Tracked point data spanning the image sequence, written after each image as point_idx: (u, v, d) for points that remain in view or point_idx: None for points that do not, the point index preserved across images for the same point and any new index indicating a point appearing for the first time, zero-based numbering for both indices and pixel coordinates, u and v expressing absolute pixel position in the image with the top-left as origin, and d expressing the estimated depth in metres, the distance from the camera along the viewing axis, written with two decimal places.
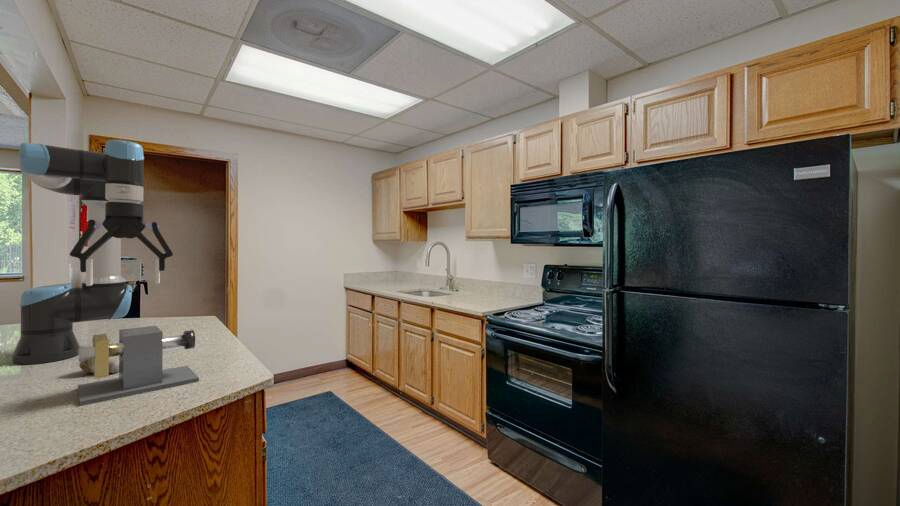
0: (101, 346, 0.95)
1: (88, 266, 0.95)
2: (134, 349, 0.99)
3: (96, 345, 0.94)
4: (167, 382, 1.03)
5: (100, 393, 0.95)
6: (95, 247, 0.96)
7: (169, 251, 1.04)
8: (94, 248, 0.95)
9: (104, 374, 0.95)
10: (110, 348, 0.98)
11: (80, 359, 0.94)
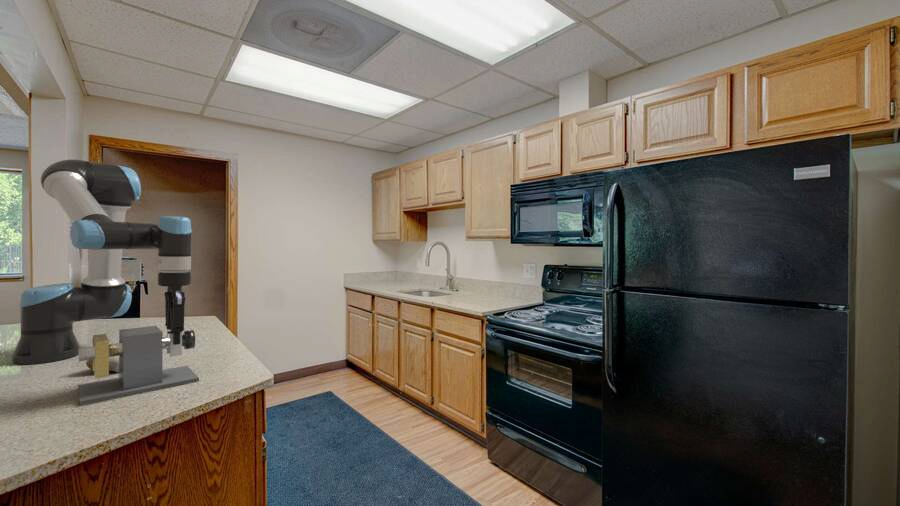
0: (101, 346, 0.95)
1: (167, 336, 1.09)
2: (134, 349, 0.99)
3: (96, 345, 0.94)
4: (167, 382, 1.03)
5: (100, 393, 0.95)
6: (167, 316, 1.09)
7: (173, 327, 1.05)
8: (167, 318, 1.09)
9: (104, 374, 0.95)
10: (110, 348, 0.98)
11: (80, 359, 0.94)
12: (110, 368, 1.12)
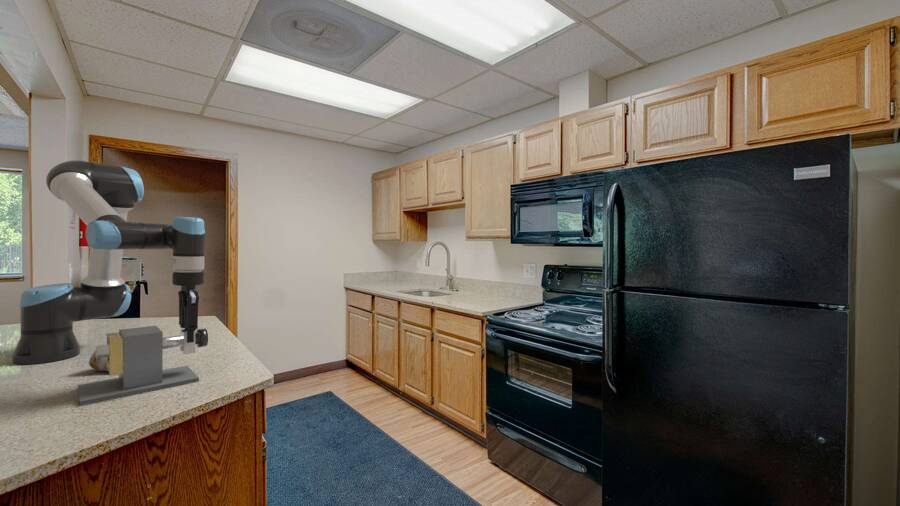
0: (116, 344, 0.97)
1: None
2: (134, 349, 0.99)
3: (111, 343, 0.96)
4: (167, 382, 1.03)
5: (100, 393, 0.95)
6: (181, 315, 1.12)
7: (187, 325, 1.07)
8: (181, 316, 1.12)
9: (119, 372, 0.97)
10: None
11: (98, 356, 0.97)
12: None
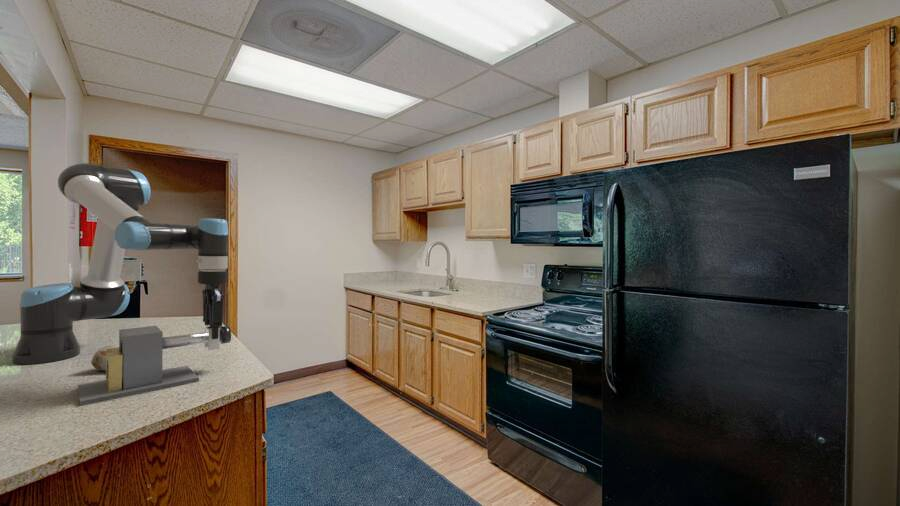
0: (115, 360, 0.97)
1: (205, 331, 1.16)
2: (134, 349, 0.99)
3: (110, 359, 0.96)
4: (167, 382, 1.03)
5: (100, 393, 0.95)
6: (205, 313, 1.16)
7: (212, 323, 1.11)
8: (205, 314, 1.16)
9: (117, 388, 0.97)
10: None
11: None
12: None
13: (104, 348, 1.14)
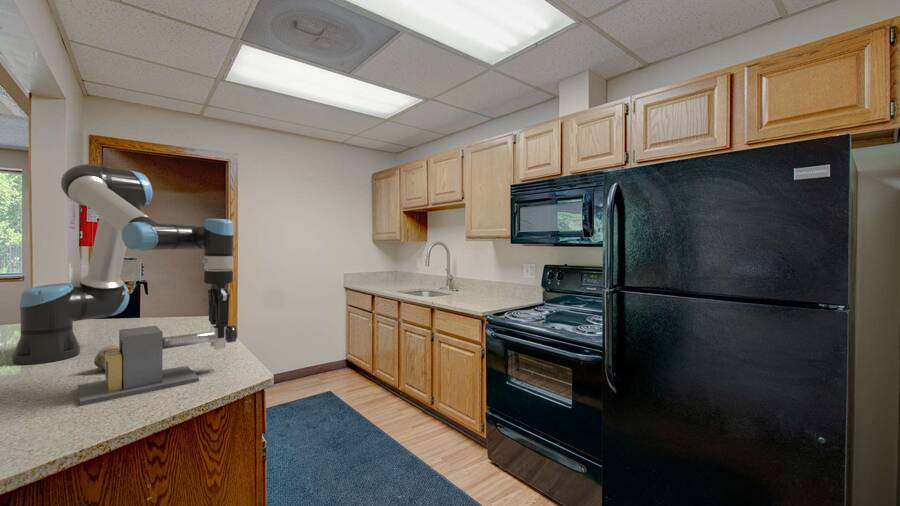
0: (114, 360, 0.97)
1: (211, 330, 1.17)
2: (134, 349, 0.99)
3: (109, 360, 0.96)
4: (167, 382, 1.03)
5: (100, 393, 0.95)
6: (211, 312, 1.17)
7: (218, 322, 1.12)
8: (211, 313, 1.17)
9: (117, 388, 0.97)
10: None
11: None
12: None
13: (107, 348, 1.14)
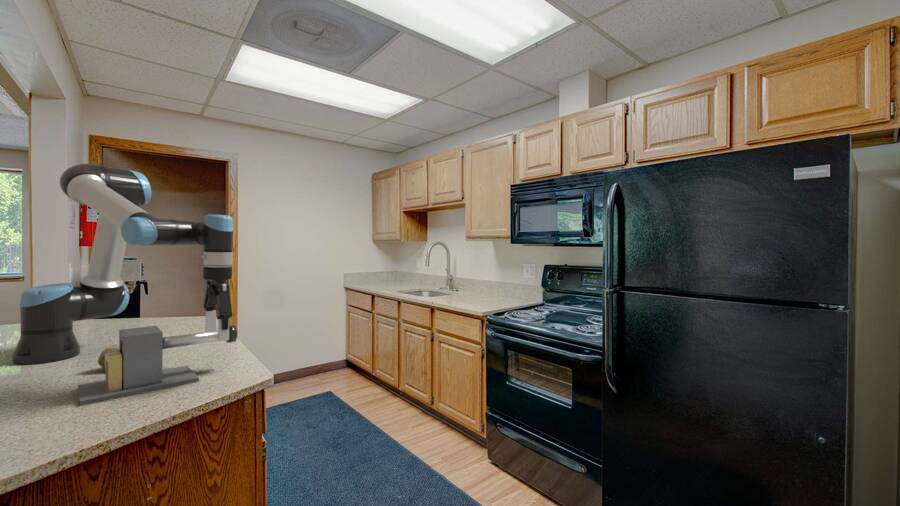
0: (114, 360, 0.97)
1: None
2: (134, 349, 0.99)
3: (109, 360, 0.96)
4: (167, 382, 1.03)
5: (100, 393, 0.95)
6: (207, 302, 1.19)
7: (222, 312, 1.09)
8: (207, 303, 1.20)
9: (117, 388, 0.97)
10: None
11: None
12: None
13: (110, 347, 1.15)
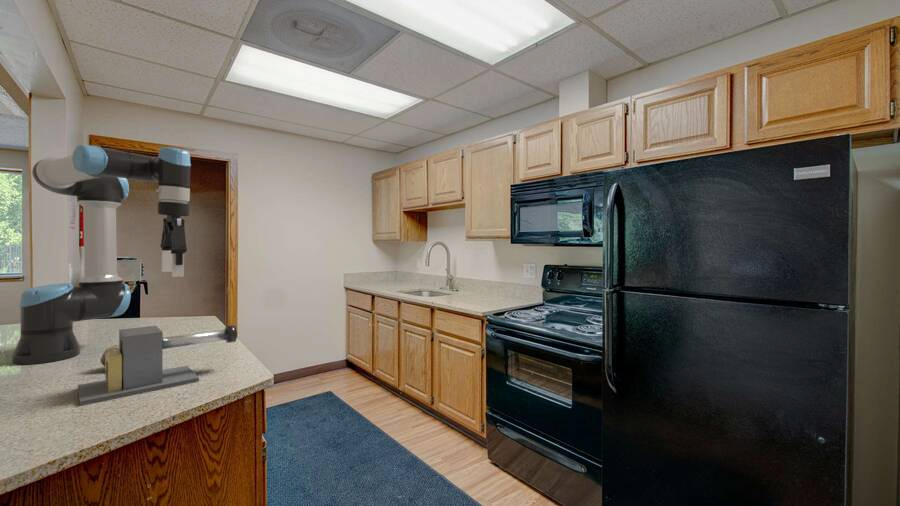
0: (114, 360, 0.97)
1: (162, 256, 1.17)
2: (134, 349, 0.99)
3: (109, 360, 0.96)
4: (167, 382, 1.03)
5: (100, 393, 0.95)
6: (163, 240, 1.16)
7: (175, 246, 1.06)
8: (163, 241, 1.16)
9: (117, 388, 0.97)
10: None
11: None
12: None
13: (113, 347, 1.15)
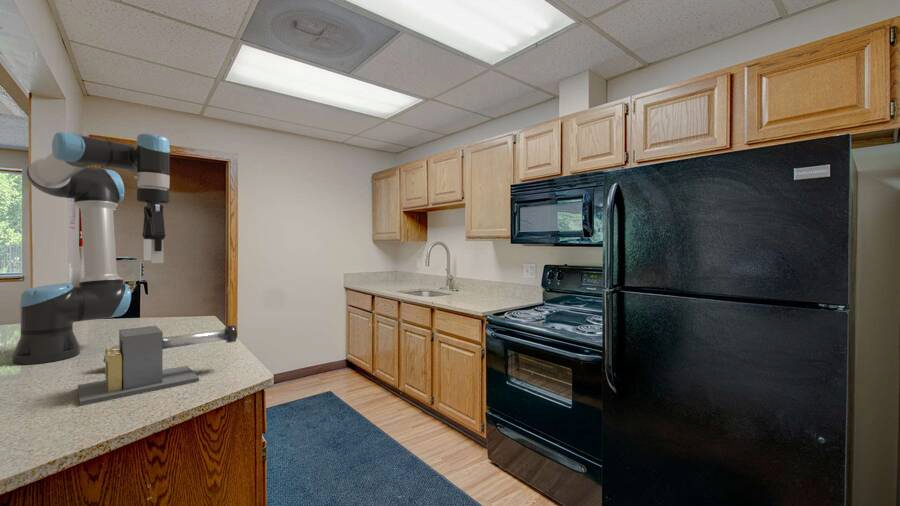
0: (114, 360, 0.97)
1: None
2: (134, 349, 0.99)
3: (109, 360, 0.96)
4: (167, 382, 1.03)
5: (100, 393, 0.95)
6: (145, 229, 1.16)
7: (153, 232, 1.05)
8: (144, 229, 1.16)
9: (117, 388, 0.97)
10: None
11: None
12: None
13: (116, 346, 1.15)
